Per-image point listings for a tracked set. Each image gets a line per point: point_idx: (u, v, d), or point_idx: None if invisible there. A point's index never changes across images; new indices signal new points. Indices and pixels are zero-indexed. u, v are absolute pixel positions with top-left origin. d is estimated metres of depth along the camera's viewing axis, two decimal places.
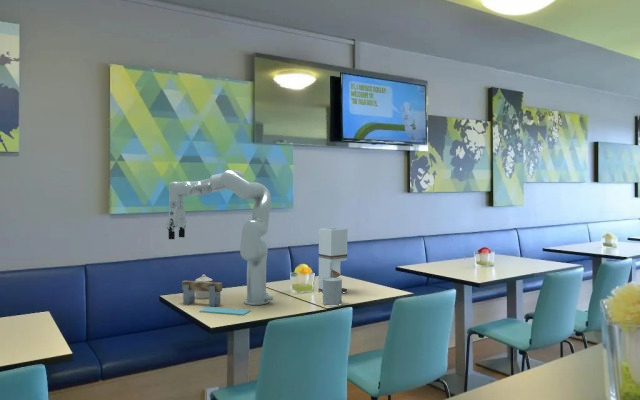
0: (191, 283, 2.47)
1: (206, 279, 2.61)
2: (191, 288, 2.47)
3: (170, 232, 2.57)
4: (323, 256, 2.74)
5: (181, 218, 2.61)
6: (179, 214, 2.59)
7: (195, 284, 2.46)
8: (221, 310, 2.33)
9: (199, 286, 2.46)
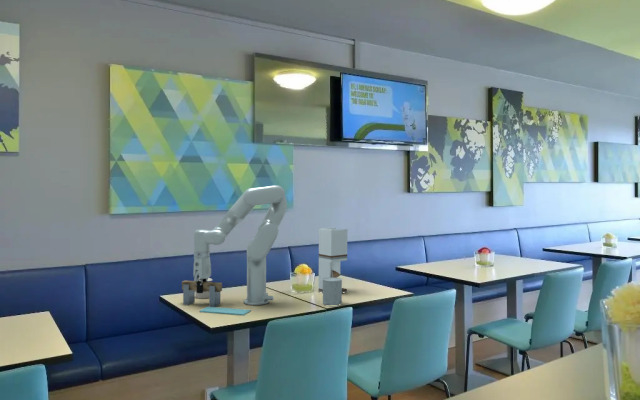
0: (191, 283, 2.47)
1: None
2: (191, 288, 2.47)
3: (198, 286, 2.44)
4: (323, 256, 2.74)
5: (206, 268, 2.46)
6: (204, 264, 2.44)
7: (195, 284, 2.46)
8: (221, 310, 2.33)
9: None
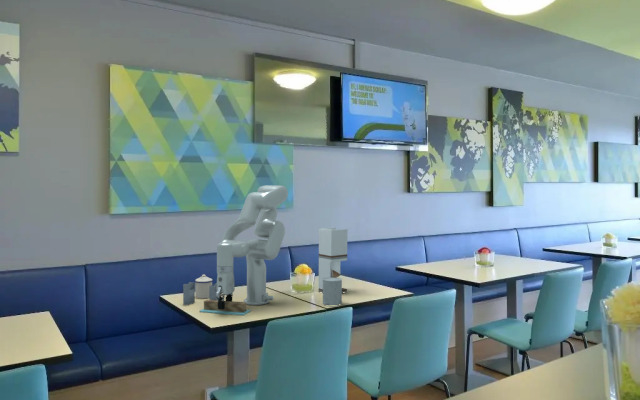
0: (214, 303, 2.33)
1: (206, 279, 2.61)
2: (214, 308, 2.34)
3: (220, 302, 2.29)
4: (323, 256, 2.74)
5: (230, 284, 2.33)
6: (228, 280, 2.30)
7: None
8: None
9: None
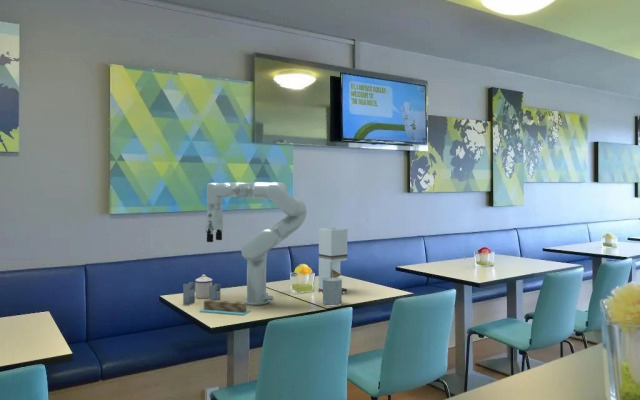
0: (214, 303, 2.33)
1: (206, 279, 2.61)
2: (214, 308, 2.34)
3: (208, 235, 2.49)
4: (323, 256, 2.74)
5: (219, 220, 2.54)
6: (217, 216, 2.52)
7: (218, 304, 2.33)
8: None
9: (223, 306, 2.32)
